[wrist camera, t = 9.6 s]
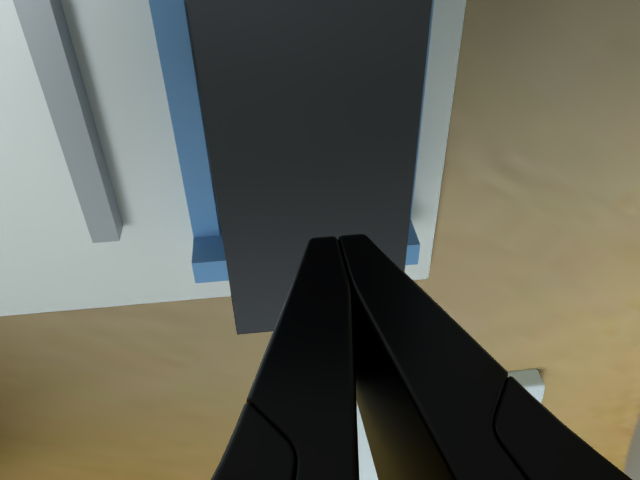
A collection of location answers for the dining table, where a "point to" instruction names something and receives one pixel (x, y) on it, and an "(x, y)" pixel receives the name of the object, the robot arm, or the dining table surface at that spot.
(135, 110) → the board
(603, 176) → the dining table surface
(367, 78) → the dark gray block
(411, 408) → the robot arm
